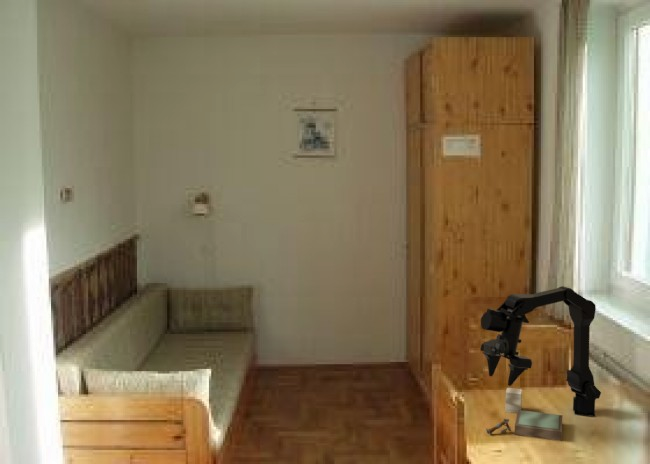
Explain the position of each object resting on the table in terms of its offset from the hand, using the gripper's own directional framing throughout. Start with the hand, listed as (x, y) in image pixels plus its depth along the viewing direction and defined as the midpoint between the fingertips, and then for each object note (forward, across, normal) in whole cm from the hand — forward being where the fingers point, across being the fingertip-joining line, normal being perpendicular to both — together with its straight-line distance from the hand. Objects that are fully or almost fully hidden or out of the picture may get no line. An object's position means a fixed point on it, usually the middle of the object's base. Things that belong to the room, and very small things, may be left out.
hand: (499, 380), depth 221 cm
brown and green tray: (+12, +9, +12) cm, 19 cm away
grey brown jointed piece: (+16, +5, -1) cm, 17 cm away
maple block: (+12, -7, +16) cm, 21 cm away
